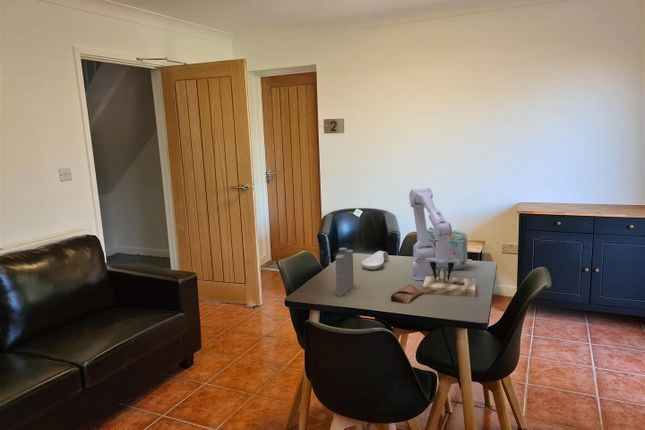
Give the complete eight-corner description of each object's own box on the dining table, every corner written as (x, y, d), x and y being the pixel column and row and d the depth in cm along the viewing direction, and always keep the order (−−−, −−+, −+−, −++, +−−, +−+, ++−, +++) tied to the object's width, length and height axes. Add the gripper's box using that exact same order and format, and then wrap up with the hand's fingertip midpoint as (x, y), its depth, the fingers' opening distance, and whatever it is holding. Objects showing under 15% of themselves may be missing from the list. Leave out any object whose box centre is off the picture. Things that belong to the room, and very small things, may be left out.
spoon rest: (378, 272, 236) (378, 259, 235) (357, 270, 242) (357, 257, 241) (395, 262, 256) (394, 249, 255) (375, 259, 262) (375, 247, 261)
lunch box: (413, 268, 242) (413, 228, 238) (417, 263, 251) (417, 225, 248) (465, 272, 231) (466, 230, 228) (467, 266, 241) (468, 227, 237)
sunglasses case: (409, 304, 187) (401, 290, 188) (395, 310, 191) (388, 296, 192) (426, 292, 202) (418, 278, 203) (413, 297, 206) (406, 284, 207)
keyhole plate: (422, 293, 201) (422, 286, 200) (425, 282, 216) (425, 275, 215) (475, 296, 194) (475, 289, 194) (474, 285, 210) (474, 278, 209)
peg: (437, 290, 205) (437, 270, 203) (437, 287, 209) (437, 267, 207) (446, 290, 204) (446, 270, 202) (446, 287, 207) (446, 268, 206)
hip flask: (342, 296, 200) (341, 252, 197) (333, 295, 202) (332, 251, 199) (354, 286, 214) (353, 244, 211) (346, 285, 216) (345, 244, 213)
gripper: (424, 250, 202) (424, 280, 204) (459, 252, 197) (458, 282, 199) (426, 247, 208) (426, 275, 210) (459, 248, 204) (458, 277, 206)
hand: (441, 278), depth 205 cm, fingers open, 5 cm apart
